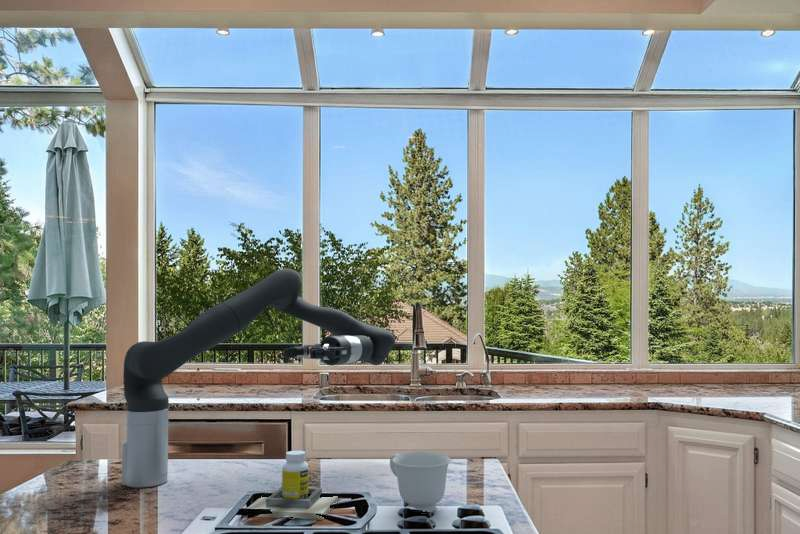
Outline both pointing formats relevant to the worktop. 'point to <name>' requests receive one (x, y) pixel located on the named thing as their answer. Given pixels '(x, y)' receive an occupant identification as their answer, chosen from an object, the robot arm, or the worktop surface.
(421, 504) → the teacup
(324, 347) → the robot arm
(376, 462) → the worktop surface
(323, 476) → the worktop surface
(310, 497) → the seat board
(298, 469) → the supplement bottle
